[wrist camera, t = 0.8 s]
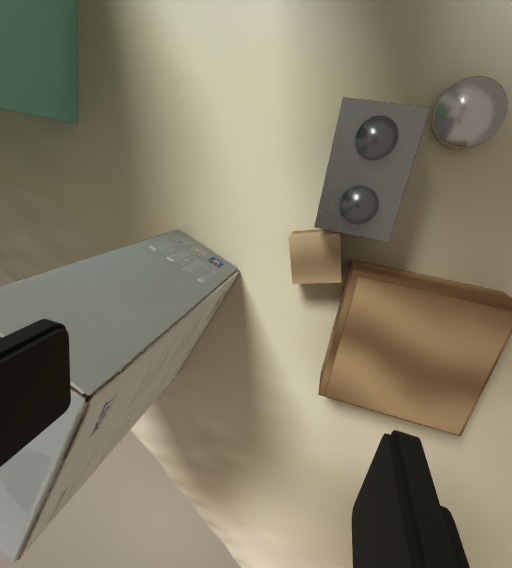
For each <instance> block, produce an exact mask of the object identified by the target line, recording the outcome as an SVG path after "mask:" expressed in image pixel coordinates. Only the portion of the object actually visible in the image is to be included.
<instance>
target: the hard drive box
mask: <svg viewBox="0 0 512 568" xmlns="http://www.w3.org/2000/svg"><path fill="white" fill-rule="evenodd" d="M238 274H239V271H237V268H236V267H235V266H233V265H232V264H230V263H229V262H227V261H226V260H224V259H223V258H221V257H220V256H218V255H217V254H215V253H214V252H212V251H211V250H209V249H207V248H206V247H204V246H203V245H201V244H200V243H198V242H197V241H195V240H194V239H192V238H190V237H189V236H187V235H186V234H184V233H183V232H181V231H179V230H175V231H172V232H168V233H165V234H162V235H159V236H156V237H153V238H150V239H147V240H143V241H140V242H137V243H134V244H131V245H128V246H125V247H122V248H119V249H116V250H112V251H109V252H106V253H103V254H100V255H97V256H94V257H90V258H87V259H84V260H81V261H78V262H75V263H72V264H69V265H66V266H62V267H59V268H56V269H53V270H50V271H47V272H44V273H41V274H38V275H34V276H31V277H28V278H25V279H22V280H19V281H16V282H12V283H9V284H6V285H3V286H0V338H2V337H4V336H7V335H9V334H11V333H13V332H15V331H17V330H19V329H22V328H24V327H26V326H28V325H30V324H32V323H34V322H36V321H39V320H41V319H48V320H52V321H55V322H58V323H61V324H63V325H64V326H65V327H66V331H68V333H69V353H70V386H71V403H70V406H69V408H68V409H67V411H66V412H65V413H64V414H63V415H62V416H60V417H59V418H58V419H57V420H56V421H54V422H53V423H52V424H51V425H50V426H49V427H47V428H46V429H45V430H44V431H43V432H41V433H40V434H39V435H38V436H37V437H36V438H34V439H33V440H32V441H31V442H30V443H28V444H27V445H26V446H25V447H24V448H23V449H21V450H20V451H19V452H18V453H17V454H15V455H14V456H13V457H12V458H11V459H10V460H8V461H7V462H6V463H5V464H4V465H2V466H1V467H0V552H1V553H2V554H3V555H5V556H6V557H8V558H9V559H10V560H12V561H13V562H15V561H16V560H18V559H20V558H21V557H22V556H23V555H24V554H25V552H26V551H27V550H28V549H29V548H30V547H31V545H32V544H33V543H34V542H35V541H36V539H37V538H38V537H39V536H40V535H41V534H42V532H43V531H44V530H45V529H46V528H47V527H48V525H49V524H50V523H51V522H52V520H53V519H54V518H55V517H56V516H57V515H58V513H59V512H60V511H61V510H62V509H63V508H64V506H65V505H66V504H67V503H68V502H69V500H70V499H71V498H72V497H73V496H74V494H75V493H76V492H77V491H78V490H79V489H80V488H81V486H82V485H83V484H84V483H85V482H86V481H87V479H88V478H89V477H90V476H91V475H92V474H93V472H94V471H95V470H96V469H97V468H98V467H99V465H100V464H101V463H102V462H103V461H104V460H105V458H106V457H107V456H108V455H109V454H110V452H111V451H112V450H113V449H114V448H115V447H116V445H117V444H118V443H119V442H120V441H121V440H122V438H123V437H124V436H125V435H126V434H127V433H128V431H129V430H130V429H131V428H132V427H133V426H134V424H135V423H136V422H137V421H138V420H139V419H140V417H141V416H142V415H143V414H144V413H145V412H146V410H147V409H148V408H149V407H150V406H151V405H152V403H153V402H154V401H155V400H156V399H157V397H158V396H159V395H160V394H161V393H162V392H163V390H164V389H165V388H166V387H167V386H168V385H169V383H170V382H171V381H172V380H173V379H174V377H175V376H176V375H177V373H178V372H179V370H180V369H181V367H182V365H183V363H184V362H185V360H186V359H187V357H188V356H189V354H190V352H191V351H192V349H193V347H194V345H195V344H196V342H197V341H198V339H199V337H200V336H201V334H202V333H203V331H204V329H205V328H206V326H207V324H208V323H209V321H210V320H211V318H212V316H213V315H214V313H215V311H216V310H217V308H218V307H219V305H220V303H221V302H222V300H223V299H224V297H225V295H226V294H227V292H228V290H229V288H230V287H231V285H232V284H233V282H234V280H235V279H236V277H237V275H238Z"/></svg>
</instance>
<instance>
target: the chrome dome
mask: <svg viewBox="0 0 512 568" xmlns="http://www.w3.org/2000/svg"><path fill="white" fill-rule="evenodd" d="M507 105H508V102H507V96H506V93H505V91H504V89H503V87H502V86H501V85H500V84H499V83H498V82H497V81H495V80H493V79H491V78H488V77H483V76H475V77H470V78H466V79H464V80H462V81H460V82H458V83H456V84H455V85H453V86H452V87H451V88H450V89H448V90H447V91H446V92H445V93H444V94H443V95H442V96H441V97H440V99H439V100H438V102H437V103H436V105H435V108H434V110H433V114H432V120H431V121H432V129H433V133H434V135H435V136H436V138H437V139H438V140H439V141H440V142H441V143H442V144H444V145H446V146H448V147H451V148H467V147H471V146H475V145H477V144H480V143H482V142H484V141H486V140H487V139H488V138H490V137H491V136H492V135H493V134H494V133H495V132H496V131H497V130H498V129H499V127H500V126H501V124H502V123H503V121H504V118H505V116H506V112H507Z"/></svg>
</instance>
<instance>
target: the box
mask: <svg viewBox="0 0 512 568" xmlns="http://www.w3.org/2000/svg"><path fill="white" fill-rule="evenodd" d="M0 108H1V109H6V110H11V111H16V112H21V113H26V114H31V115H36V116H41V117H46V118H51V119H56V120H61V121H66V122H71V123H76V124H77V123H78V117H77V1H76V0H0Z"/></svg>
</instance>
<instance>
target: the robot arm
mask: <svg viewBox="0 0 512 568" xmlns="http://www.w3.org/2000/svg"><path fill="white" fill-rule="evenodd" d="M70 403H71V386H70V353H69V333H68V331H66V327H65V326H64V325H63V324H61V323H58V322H55V321H52V320H48V319H41V320H39V321H36V322H34V323H32V324H30V325H28V326H26V327H24V328H22V329H19V330H17V331H15V332H13V333H11V334H9V335H7V336H4V337H2V338H0V467H1V466H2V465H4V464H5V463H6V462H7V461H8V460H10V459H11V458H12V457H13V456H14V455H15V454H17V453H18V452H19V451H20V450H21V449H23V448H24V447H25V446H26V445H27V444H28V443H30V442H31V441H32V440H33V439H34V438H36V437H37V436H38V435H39V434H40V433H41V432H43V431H44V430H45V429H46V428H47V427H49V426H50V425H51V424H52V423H53V422H54V421H56V420H57V419H58V418H59V417H60V416H62V415H63V414H64V413H65V412H66V411H67V409H68V408H69V406H70ZM352 548H353V568H470V567H469V564H468V561H467V558H466V555H465V552H464V549H463V546H462V543H461V540H460V537H459V534H458V531H457V528H456V524H455V521H454V519H453V517H452V514H451V513H450V511H449V510H448V509H447V508H445V507H442V506H440V504H439V500H438V497H437V494H436V490H435V487H434V484H433V480H432V477H431V474H430V470H429V467H428V463H427V460H426V457H425V453H424V450H423V447H422V443H421V441H420V439H419V438H418V437H415V436H412V435H409V434H406V433H403V432H400V431H397V430H394V431H393V432H392V433H391V435H389V434H386V433H385V434H384V435H383V437H382V439H381V441H380V444H379V446H378V449H377V451H376V453H375V456H374V458H373V461H372V463H371V465H370V468H369V470H368V473H367V475H366V477H365V480H364V482H363V485H362V487H361V489H360V492H359V494H358V497H357V499H356V501H355V504H354V507H353V512H352Z"/></svg>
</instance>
